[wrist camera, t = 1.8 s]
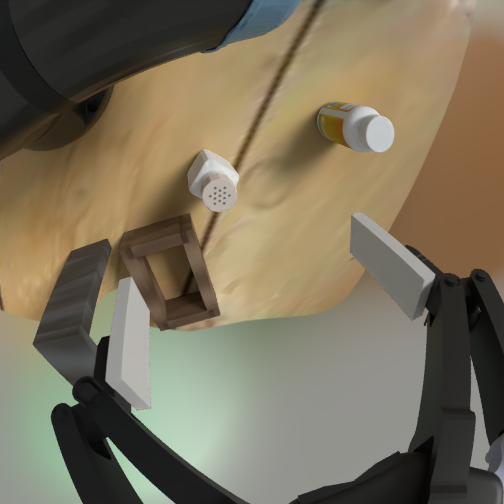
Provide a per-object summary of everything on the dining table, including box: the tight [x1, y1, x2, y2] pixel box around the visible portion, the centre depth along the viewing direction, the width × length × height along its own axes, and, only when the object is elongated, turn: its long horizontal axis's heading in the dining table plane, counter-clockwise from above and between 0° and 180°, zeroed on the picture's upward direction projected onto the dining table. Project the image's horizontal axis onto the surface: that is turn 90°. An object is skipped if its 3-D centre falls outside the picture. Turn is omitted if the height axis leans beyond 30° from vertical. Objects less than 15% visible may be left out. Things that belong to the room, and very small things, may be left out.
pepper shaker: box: [187, 149, 239, 212], centre depth 28 cm, size 4×4×10 cm
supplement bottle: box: [317, 102, 394, 153], centre depth 28 cm, size 5×5×10 cm
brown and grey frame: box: [33, 213, 220, 386], centre depth 31 cm, size 14×18×17 cm
